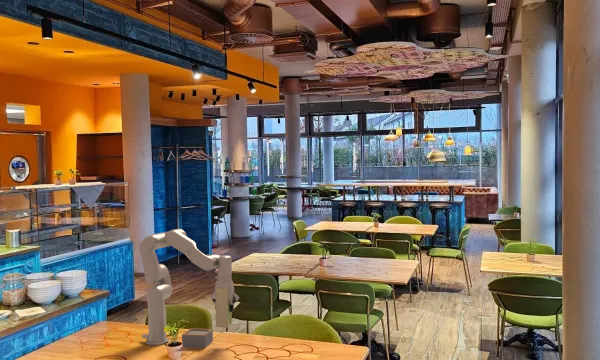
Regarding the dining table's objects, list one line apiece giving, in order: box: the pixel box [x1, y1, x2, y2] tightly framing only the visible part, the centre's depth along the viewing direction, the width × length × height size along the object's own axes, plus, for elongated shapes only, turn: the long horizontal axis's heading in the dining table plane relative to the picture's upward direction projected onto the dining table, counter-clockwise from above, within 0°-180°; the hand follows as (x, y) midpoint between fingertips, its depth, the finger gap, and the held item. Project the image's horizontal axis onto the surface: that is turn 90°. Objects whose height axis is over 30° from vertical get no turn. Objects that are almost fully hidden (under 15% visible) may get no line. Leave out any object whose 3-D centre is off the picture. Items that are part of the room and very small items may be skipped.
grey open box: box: [181, 328, 214, 349], centre depth 283 cm, size 13×12×7 cm
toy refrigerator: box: [215, 288, 233, 329], centre depth 280 cm, size 8×7×21 cm
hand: (224, 311), depth 280 cm, fingers closed on toy refrigerator, 7 cm apart
